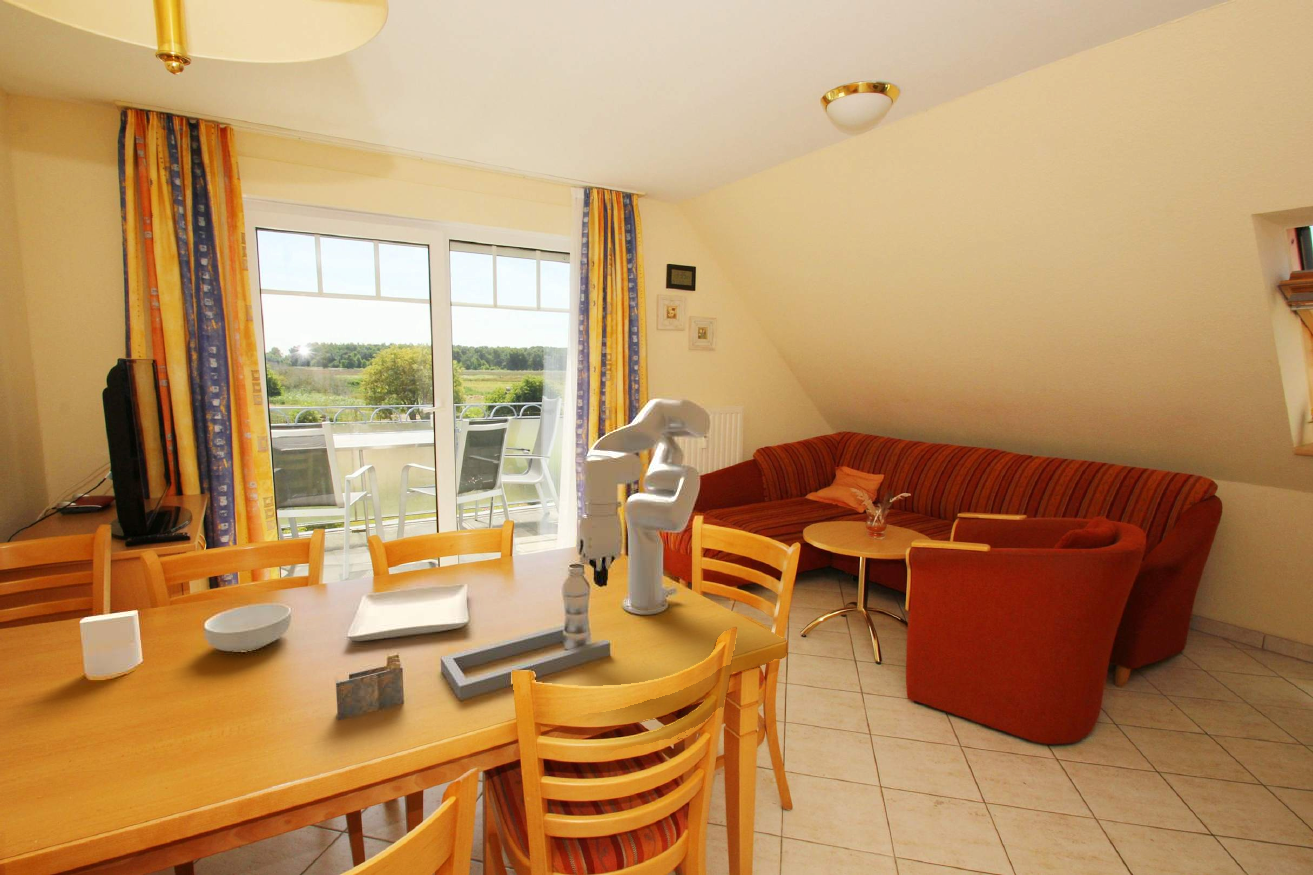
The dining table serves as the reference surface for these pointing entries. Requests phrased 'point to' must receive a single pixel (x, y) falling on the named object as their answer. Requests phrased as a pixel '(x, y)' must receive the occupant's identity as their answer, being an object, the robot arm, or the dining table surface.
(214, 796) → the dining table surface
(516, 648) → the u rest
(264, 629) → the cereal bowl
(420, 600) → the square plate
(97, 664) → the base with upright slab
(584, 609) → the plastic bottle
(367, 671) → the ruin model on sheet
